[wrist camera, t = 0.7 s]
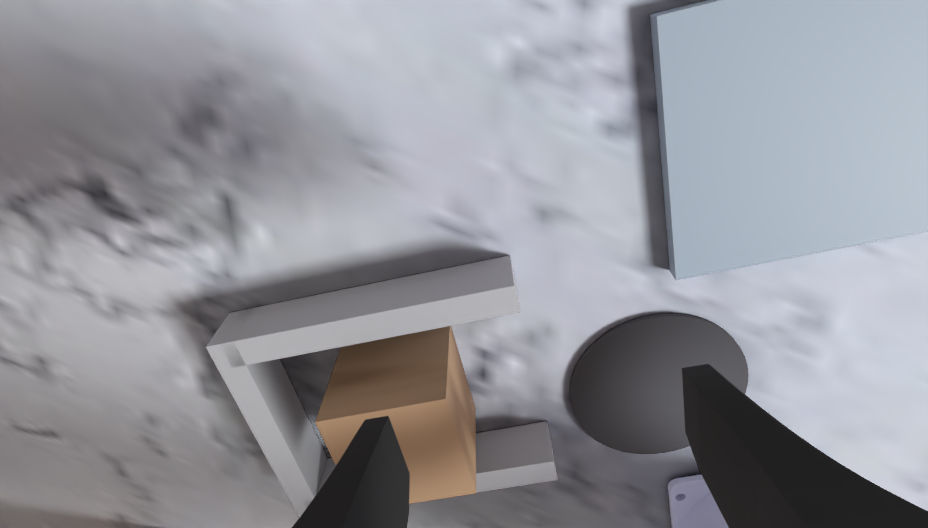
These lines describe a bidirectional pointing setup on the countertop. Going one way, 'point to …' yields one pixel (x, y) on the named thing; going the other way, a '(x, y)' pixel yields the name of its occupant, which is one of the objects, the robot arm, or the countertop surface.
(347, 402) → the walnut cube
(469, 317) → the grey flat u-shaped piece
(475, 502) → the countertop surface
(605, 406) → the hole mat
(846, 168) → the board
